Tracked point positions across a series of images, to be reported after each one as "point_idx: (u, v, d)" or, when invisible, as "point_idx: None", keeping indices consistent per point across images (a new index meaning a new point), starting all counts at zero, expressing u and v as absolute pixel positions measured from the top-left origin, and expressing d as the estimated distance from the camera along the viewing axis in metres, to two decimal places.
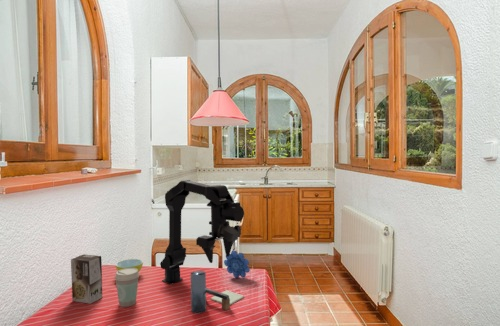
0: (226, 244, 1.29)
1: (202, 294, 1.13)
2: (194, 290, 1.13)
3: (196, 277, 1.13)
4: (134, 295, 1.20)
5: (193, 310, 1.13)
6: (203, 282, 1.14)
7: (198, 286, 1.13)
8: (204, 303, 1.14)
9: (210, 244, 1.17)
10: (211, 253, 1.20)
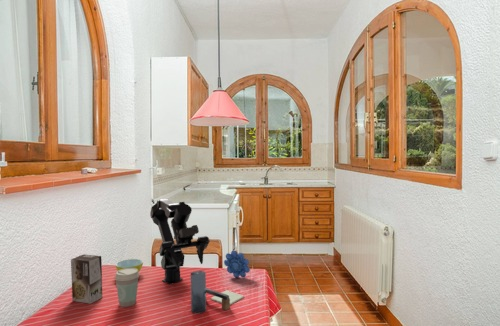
0: (198, 253, 1.28)
1: (202, 294, 1.13)
2: (194, 290, 1.13)
3: (196, 277, 1.13)
4: (134, 295, 1.20)
5: (193, 310, 1.13)
6: (203, 282, 1.14)
7: (198, 286, 1.13)
8: (204, 303, 1.14)
9: (166, 245, 1.21)
10: (174, 257, 1.21)
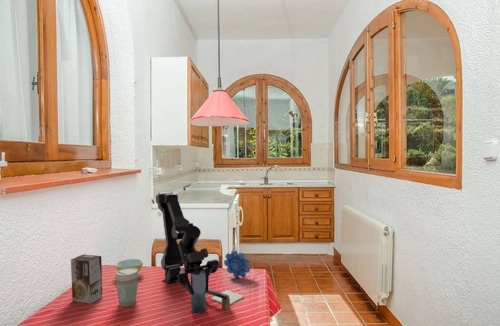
0: None
1: (202, 294, 1.13)
2: (194, 289, 1.13)
3: (196, 277, 1.13)
4: (134, 295, 1.20)
5: (193, 310, 1.13)
6: (203, 282, 1.14)
7: (199, 286, 1.13)
8: (204, 303, 1.14)
9: (174, 271, 1.13)
10: (187, 282, 1.14)
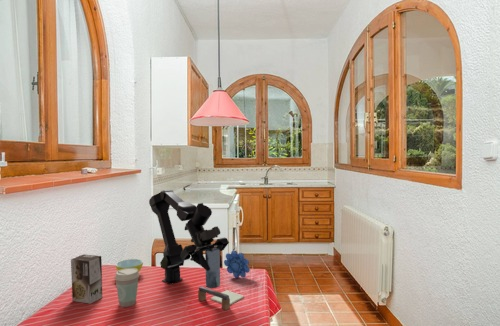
0: None
1: (217, 269, 1.18)
2: (211, 265, 1.17)
3: (212, 253, 1.17)
4: (134, 295, 1.20)
5: (209, 285, 1.17)
6: (218, 258, 1.18)
7: (215, 262, 1.17)
8: (219, 278, 1.19)
9: (190, 249, 1.16)
10: (203, 259, 1.17)
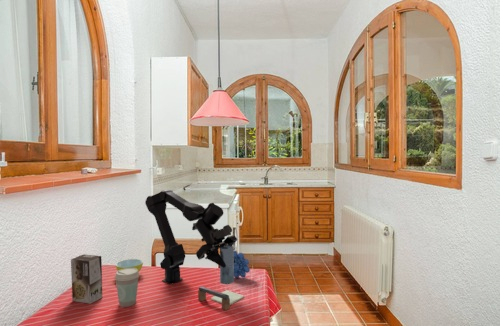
0: None
1: (232, 265, 1.23)
2: (227, 262, 1.22)
3: (228, 250, 1.22)
4: (134, 295, 1.20)
5: (225, 281, 1.22)
6: (233, 254, 1.24)
7: (230, 258, 1.22)
8: (233, 274, 1.24)
9: (208, 247, 1.19)
10: (219, 257, 1.21)
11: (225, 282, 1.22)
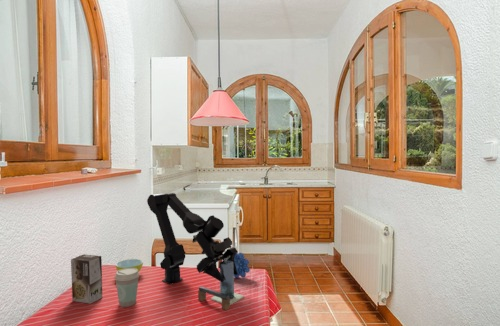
0: None
1: (232, 281, 1.23)
2: (227, 278, 1.22)
3: (228, 266, 1.22)
4: (134, 295, 1.20)
5: None
6: (233, 270, 1.24)
7: (230, 274, 1.22)
8: (233, 289, 1.24)
9: (208, 261, 1.19)
10: (217, 271, 1.20)
11: None
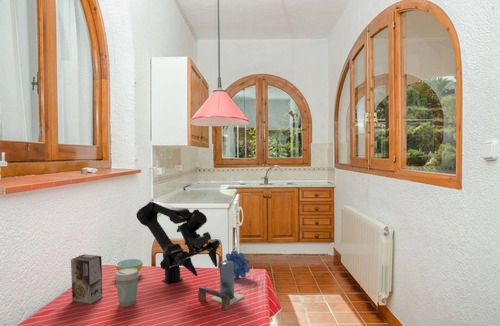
0: (211, 256, 1.34)
1: (232, 281, 1.23)
2: (227, 278, 1.22)
3: (228, 266, 1.22)
4: (134, 295, 1.20)
5: None
6: (233, 271, 1.24)
7: (230, 274, 1.22)
8: (233, 289, 1.24)
9: (183, 257, 1.25)
10: (191, 266, 1.26)
11: None
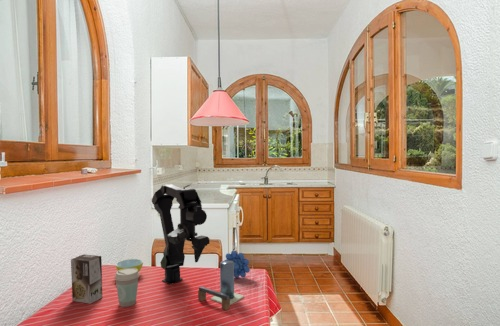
0: None
1: (233, 280, 1.23)
2: (227, 277, 1.22)
3: (229, 265, 1.22)
4: (134, 295, 1.20)
5: None
6: (233, 269, 1.24)
7: (231, 274, 1.23)
8: (233, 289, 1.24)
9: (169, 238, 1.32)
10: (176, 248, 1.32)
11: None
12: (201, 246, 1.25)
